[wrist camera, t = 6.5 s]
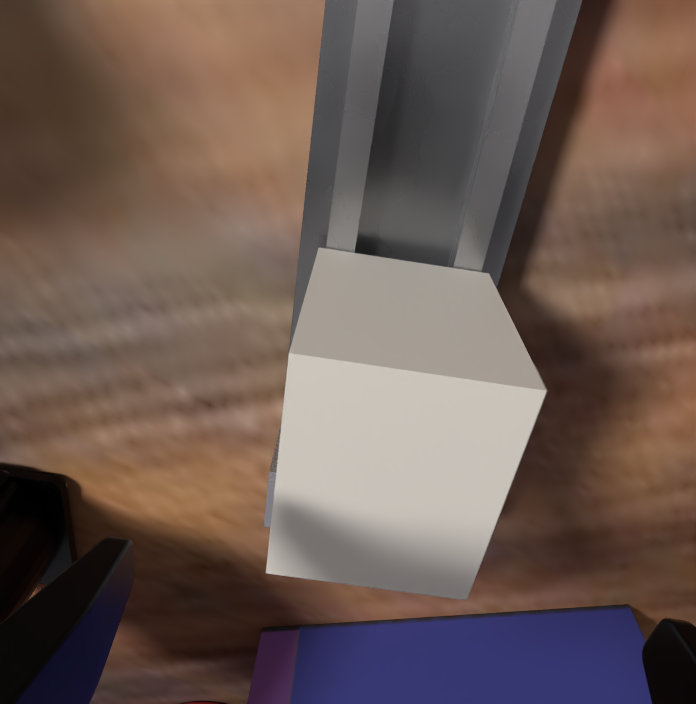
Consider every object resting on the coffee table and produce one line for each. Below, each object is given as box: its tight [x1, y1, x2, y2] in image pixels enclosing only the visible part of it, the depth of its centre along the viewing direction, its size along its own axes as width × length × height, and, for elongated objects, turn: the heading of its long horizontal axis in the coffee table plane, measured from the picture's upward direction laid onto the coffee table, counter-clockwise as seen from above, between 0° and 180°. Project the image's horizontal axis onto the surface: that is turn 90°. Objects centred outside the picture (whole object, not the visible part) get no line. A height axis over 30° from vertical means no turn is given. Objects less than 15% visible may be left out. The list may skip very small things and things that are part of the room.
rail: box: [264, 0, 582, 527], centre depth 14 cm, size 24×6×4 cm, turn 172°
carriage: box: [266, 248, 548, 600], centre depth 14 cm, size 6×5×6 cm
